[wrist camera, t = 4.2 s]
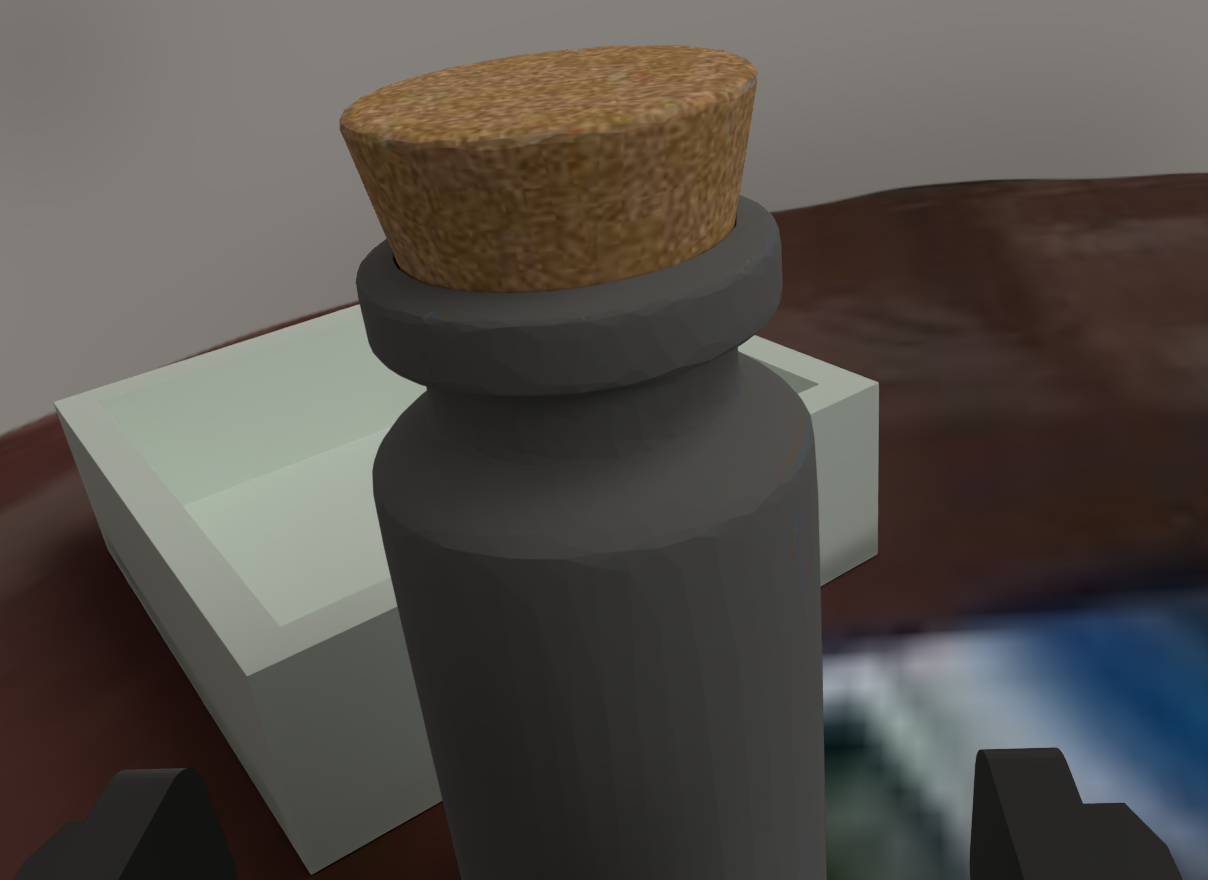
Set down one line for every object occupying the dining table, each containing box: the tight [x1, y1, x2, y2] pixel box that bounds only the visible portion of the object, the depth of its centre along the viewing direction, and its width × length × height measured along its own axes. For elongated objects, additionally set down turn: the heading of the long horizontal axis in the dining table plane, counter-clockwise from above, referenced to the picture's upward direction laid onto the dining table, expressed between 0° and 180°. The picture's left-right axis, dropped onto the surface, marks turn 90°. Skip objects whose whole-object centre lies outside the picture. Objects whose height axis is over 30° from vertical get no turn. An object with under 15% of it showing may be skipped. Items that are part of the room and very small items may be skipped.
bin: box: [54, 304, 879, 875], centre depth 31 cm, size 16×16×5 cm
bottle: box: [340, 45, 827, 880], centre depth 16 cm, size 6×6×15 cm
